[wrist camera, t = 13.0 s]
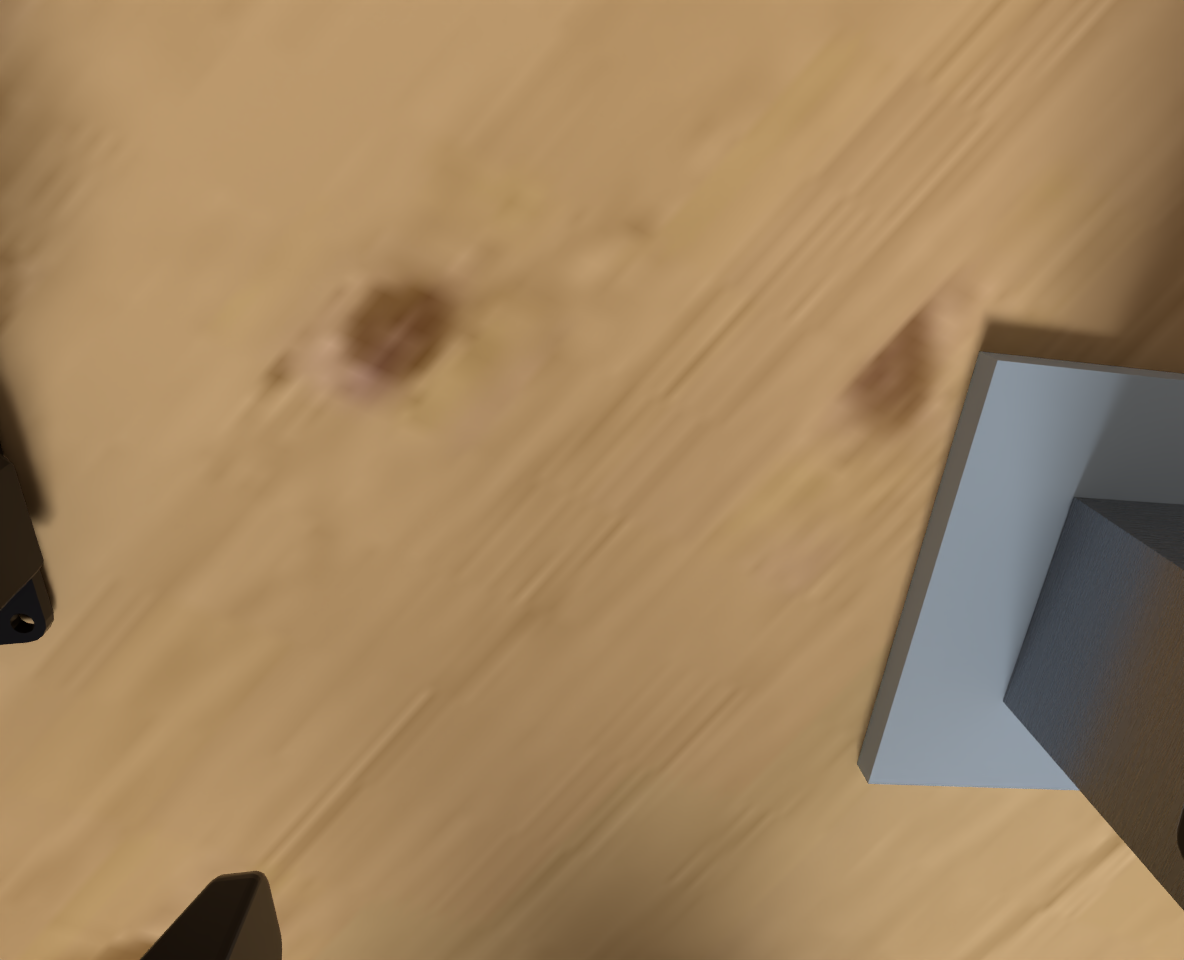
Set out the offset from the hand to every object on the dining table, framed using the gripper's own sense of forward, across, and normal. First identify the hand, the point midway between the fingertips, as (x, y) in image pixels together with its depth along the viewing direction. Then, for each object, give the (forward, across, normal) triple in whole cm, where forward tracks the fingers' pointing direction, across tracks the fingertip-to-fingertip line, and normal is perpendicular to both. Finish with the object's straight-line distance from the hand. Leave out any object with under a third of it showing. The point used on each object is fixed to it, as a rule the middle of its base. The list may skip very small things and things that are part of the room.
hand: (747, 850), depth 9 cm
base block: (+14, -14, +6) cm, 21 cm away
